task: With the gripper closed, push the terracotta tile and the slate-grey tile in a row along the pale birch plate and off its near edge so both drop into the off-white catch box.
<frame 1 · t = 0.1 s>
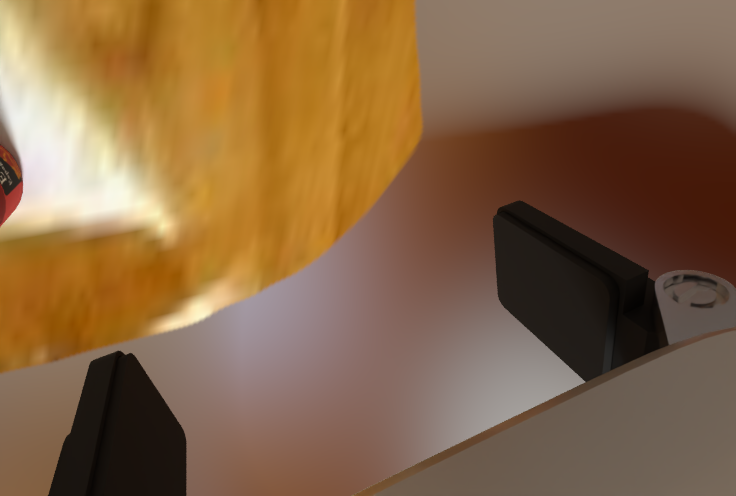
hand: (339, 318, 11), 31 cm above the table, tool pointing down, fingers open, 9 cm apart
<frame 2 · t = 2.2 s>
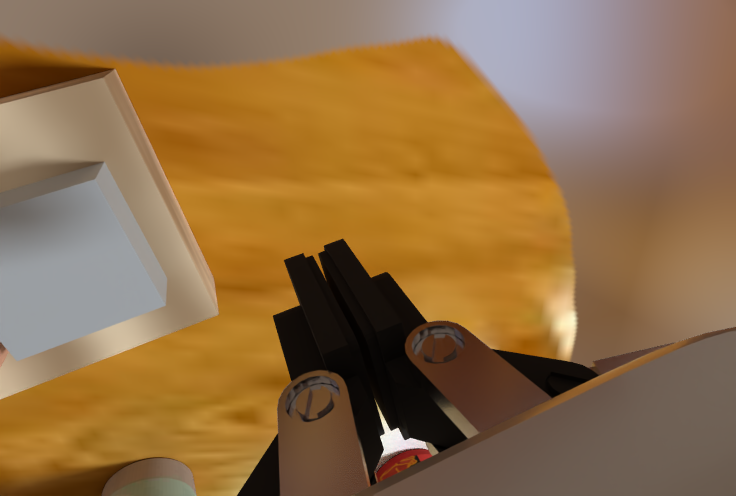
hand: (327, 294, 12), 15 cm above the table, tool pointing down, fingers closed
birch plate: (1, 240, 22), on the table
tile slate: (67, 247, 19), point 4 cm above the table, touching birch plate
canned food: (404, 475, 42), on the table
coffee cup: (149, 485, 32), on the table
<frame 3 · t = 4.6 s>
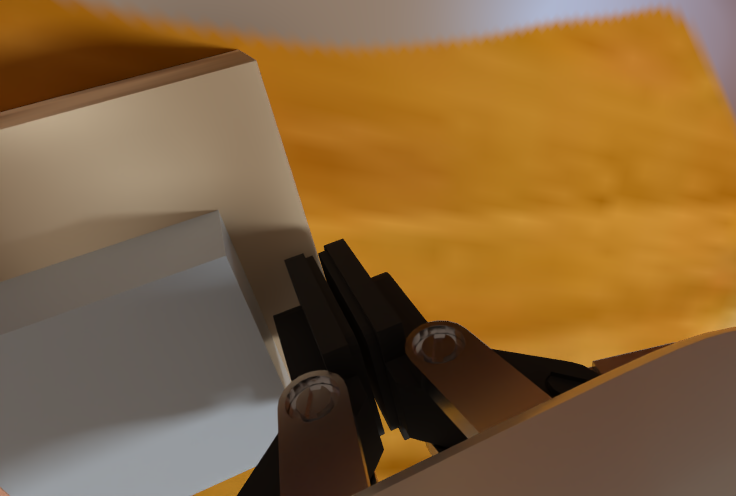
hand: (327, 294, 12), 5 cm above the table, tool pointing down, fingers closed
birch plate: (55, 310, 15), on the table
tile slate: (148, 346, 12), point 4 cm above the table, touching birch plate, gripper
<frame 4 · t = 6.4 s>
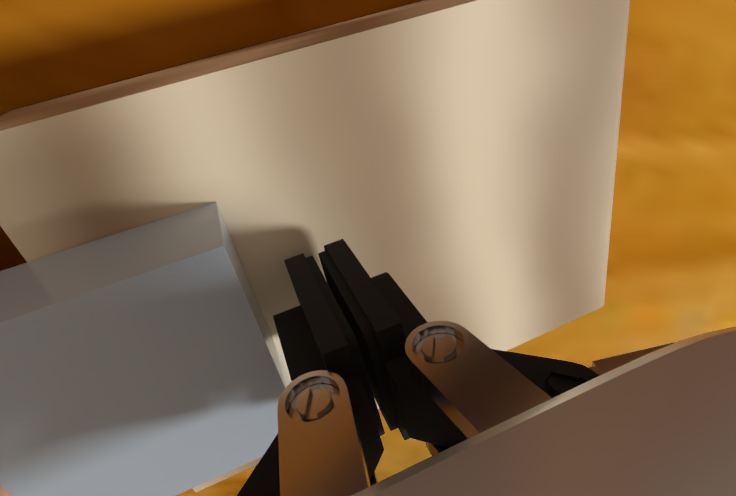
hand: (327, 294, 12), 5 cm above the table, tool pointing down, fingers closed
birch plate: (349, 207, 17), on the table
tile slate: (145, 339, 12), point 4 cm above the table, touching gripper
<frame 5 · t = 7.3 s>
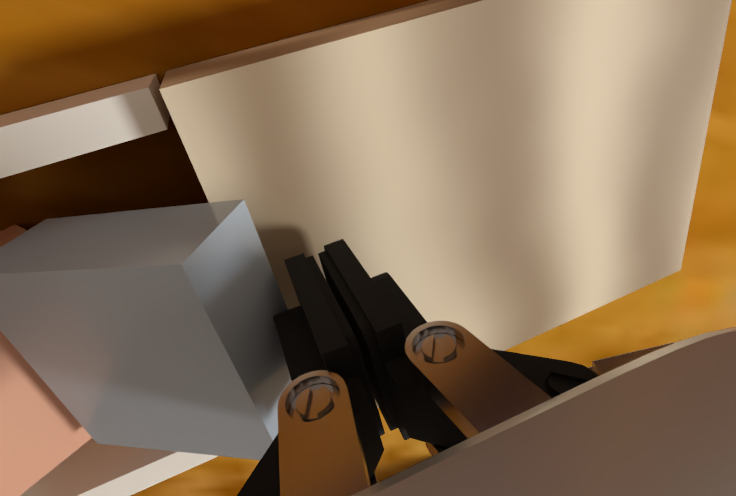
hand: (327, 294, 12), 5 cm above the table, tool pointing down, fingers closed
catch box: (78, 303, 15), on the table
birch plate: (445, 173, 17), on the table
tile slate: (188, 304, 12), point 3 cm above the table, tilted 34°, touching gripper, tile terracotta
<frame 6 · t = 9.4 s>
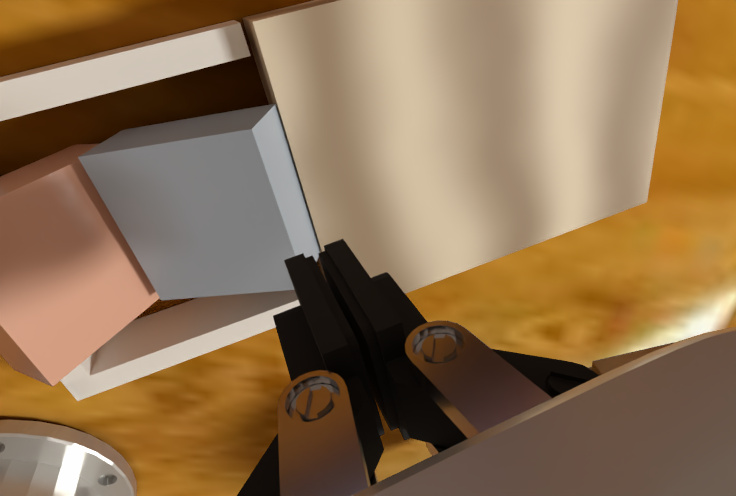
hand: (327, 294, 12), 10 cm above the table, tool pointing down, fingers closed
catch box: (164, 203, 19), on the table
birch plate: (452, 114, 21), on the table
tile slate: (227, 193, 17), point 2 cm above the table, tilted 26°, touching birch plate, tile terracotta
tile terracotta: (85, 260, 15), point 4 cm above the table, tilted 135°, touching catch box, tile slate
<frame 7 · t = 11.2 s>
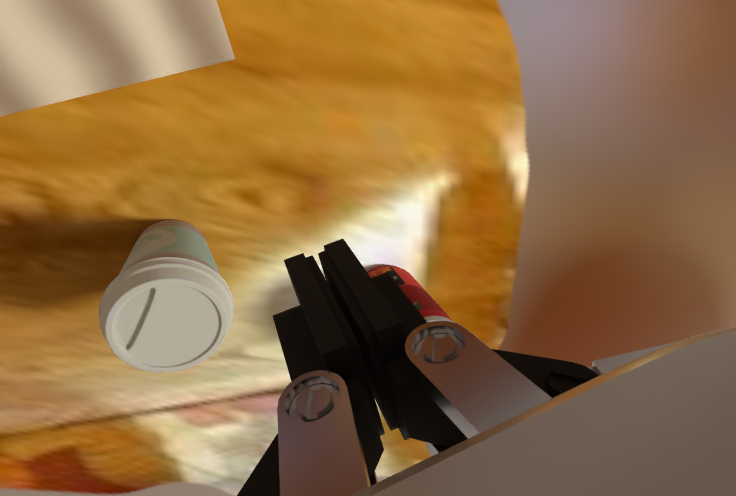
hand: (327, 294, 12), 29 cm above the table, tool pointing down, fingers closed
canned food: (381, 292, 50), on the table
coffee cup: (172, 248, 40), on the table
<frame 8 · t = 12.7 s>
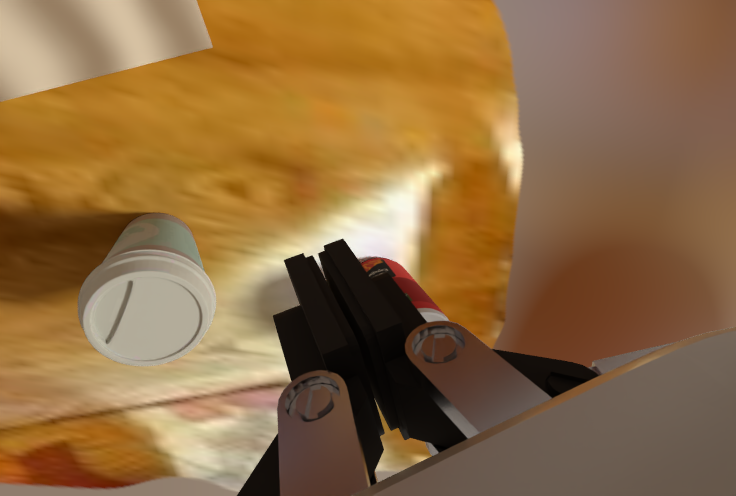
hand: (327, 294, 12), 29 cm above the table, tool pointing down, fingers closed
canned food: (374, 285, 50), on the table
coffee cup: (158, 242, 39), on the table
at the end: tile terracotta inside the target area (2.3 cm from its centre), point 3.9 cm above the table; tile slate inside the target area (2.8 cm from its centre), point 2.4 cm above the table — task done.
